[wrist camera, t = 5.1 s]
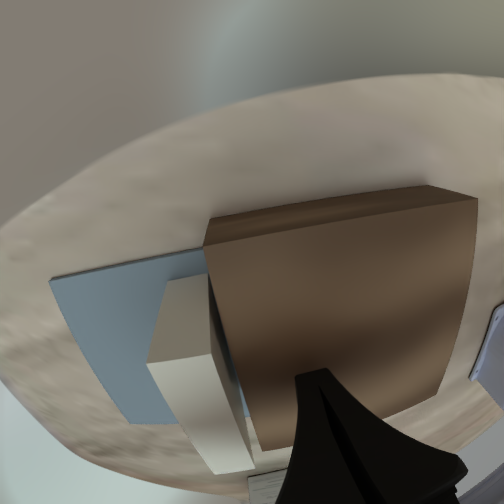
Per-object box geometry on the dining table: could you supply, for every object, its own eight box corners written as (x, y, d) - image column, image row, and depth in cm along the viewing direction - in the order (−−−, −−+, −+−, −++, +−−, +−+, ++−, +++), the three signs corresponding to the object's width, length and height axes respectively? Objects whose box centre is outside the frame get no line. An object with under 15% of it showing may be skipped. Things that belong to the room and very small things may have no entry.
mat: (250, 412, 17) (251, 416, 17) (130, 420, 17) (130, 423, 17) (205, 246, 13) (204, 249, 13) (51, 278, 13) (48, 281, 12)
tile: (255, 468, 10) (214, 474, 10) (239, 387, 16) (208, 393, 16) (211, 353, 7) (145, 363, 7) (207, 273, 13) (167, 281, 13)
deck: (410, 360, 17) (436, 394, 14) (255, 405, 17) (262, 451, 13) (428, 185, 13) (478, 198, 9) (209, 219, 13) (202, 246, 9)
